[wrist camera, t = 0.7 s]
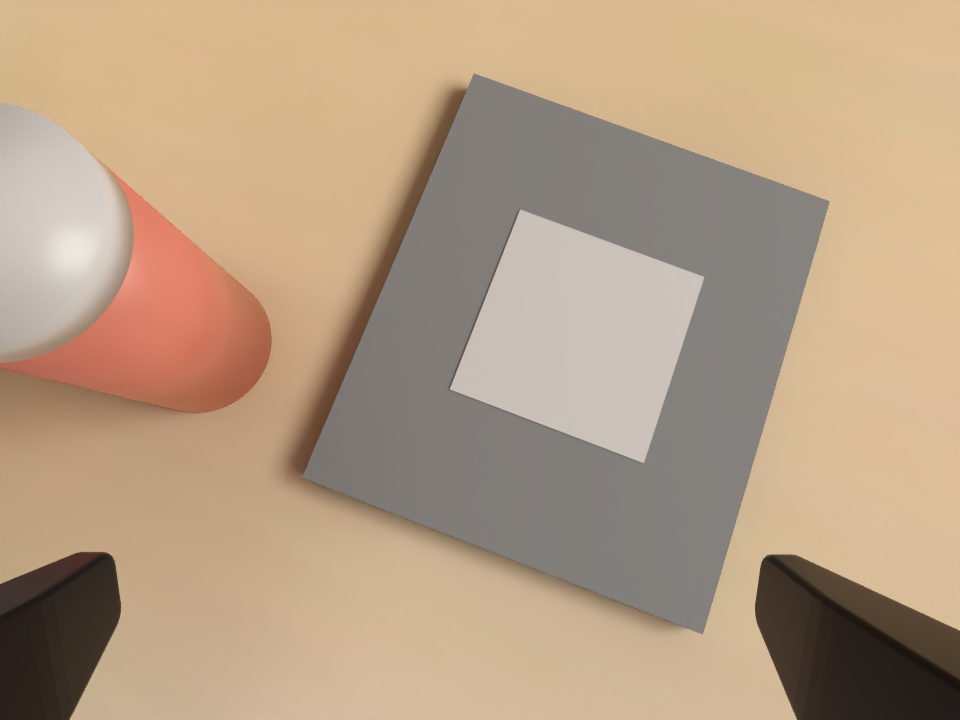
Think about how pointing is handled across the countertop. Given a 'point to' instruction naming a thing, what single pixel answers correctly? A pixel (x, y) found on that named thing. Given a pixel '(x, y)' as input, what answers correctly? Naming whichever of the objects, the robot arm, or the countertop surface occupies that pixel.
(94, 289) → the salt shaker
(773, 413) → the countertop surface
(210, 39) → the countertop surface
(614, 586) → the mat
